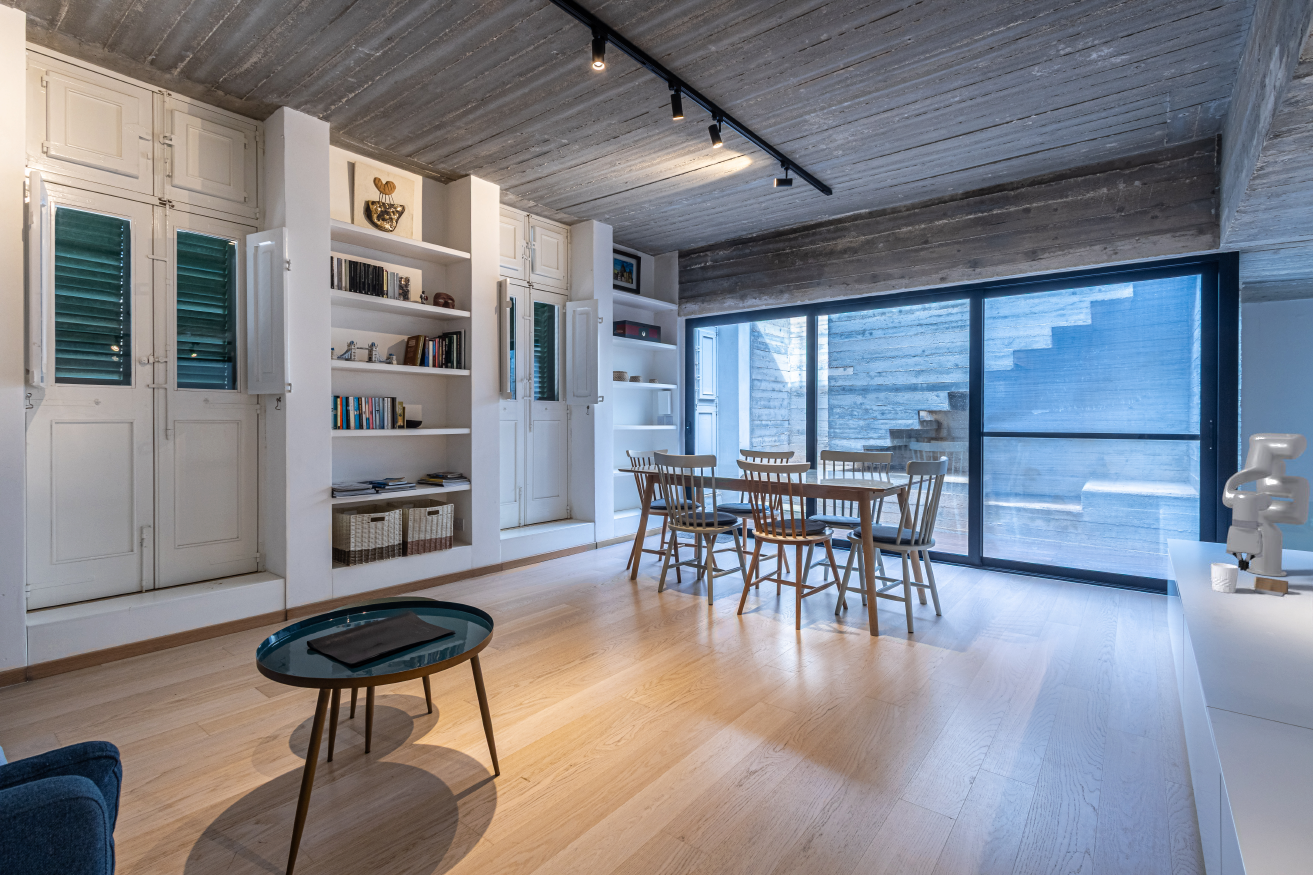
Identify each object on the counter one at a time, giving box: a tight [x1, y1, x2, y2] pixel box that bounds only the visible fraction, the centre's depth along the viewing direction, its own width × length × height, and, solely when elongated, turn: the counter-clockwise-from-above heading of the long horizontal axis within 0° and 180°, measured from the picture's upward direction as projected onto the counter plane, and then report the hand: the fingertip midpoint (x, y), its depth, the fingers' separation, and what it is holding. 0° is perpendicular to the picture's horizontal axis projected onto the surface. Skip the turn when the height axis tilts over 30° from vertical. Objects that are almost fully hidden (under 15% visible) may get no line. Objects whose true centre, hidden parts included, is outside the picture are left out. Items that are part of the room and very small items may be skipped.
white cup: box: [1210, 562, 1239, 594], centre depth 241 cm, size 8×8×10 cm
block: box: [1253, 576, 1289, 594], centre depth 240 cm, size 4×4×9 cm
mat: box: [1254, 589, 1285, 597], centre depth 241 cm, size 14×8×1 cm, turn 129°
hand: (1243, 570), depth 246 cm, fingers closed
